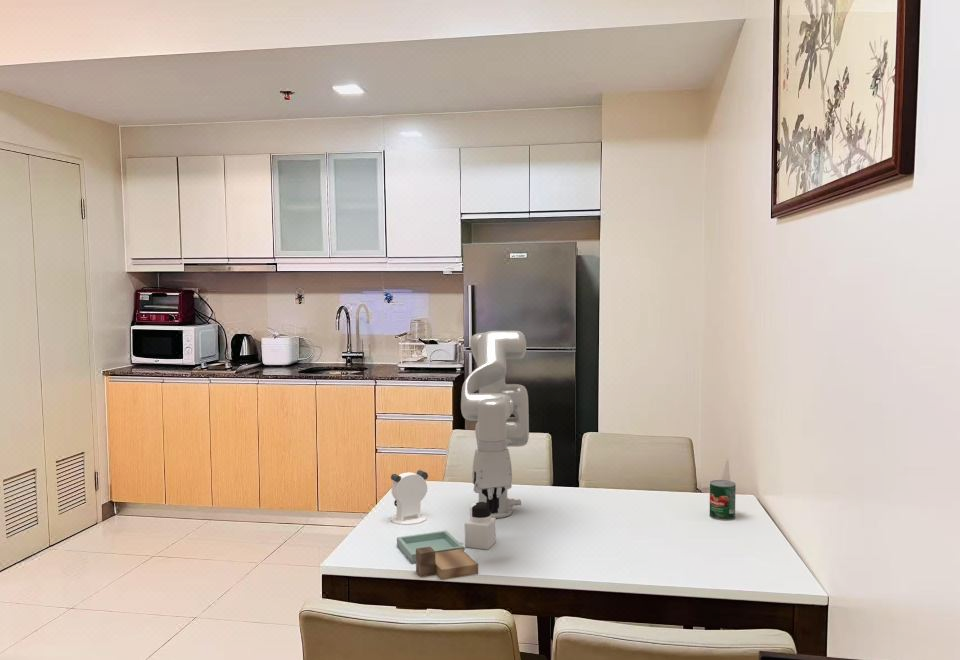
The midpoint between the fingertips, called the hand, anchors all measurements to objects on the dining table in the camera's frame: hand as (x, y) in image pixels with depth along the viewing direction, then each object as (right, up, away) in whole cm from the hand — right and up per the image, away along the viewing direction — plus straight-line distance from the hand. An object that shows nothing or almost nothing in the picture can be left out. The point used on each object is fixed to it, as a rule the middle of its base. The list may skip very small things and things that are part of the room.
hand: (492, 511), depth 193 cm
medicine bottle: (-3, -13, +13) cm, 19 cm away
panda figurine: (-26, -12, +38) cm, 47 cm away
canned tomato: (+74, -11, +37) cm, 84 cm away
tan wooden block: (-11, -14, -4) cm, 18 cm away
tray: (-18, -13, +9) cm, 24 cm away
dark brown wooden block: (-18, -14, -7) cm, 24 cm away
